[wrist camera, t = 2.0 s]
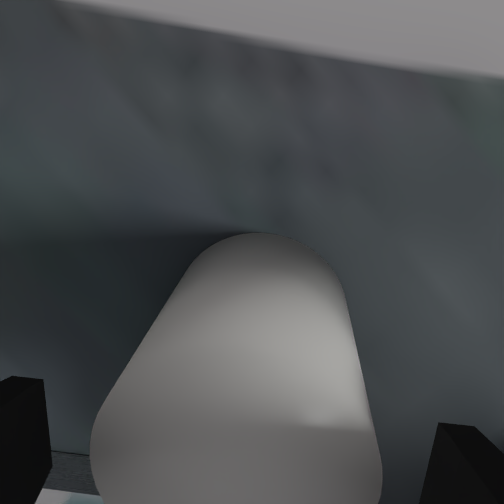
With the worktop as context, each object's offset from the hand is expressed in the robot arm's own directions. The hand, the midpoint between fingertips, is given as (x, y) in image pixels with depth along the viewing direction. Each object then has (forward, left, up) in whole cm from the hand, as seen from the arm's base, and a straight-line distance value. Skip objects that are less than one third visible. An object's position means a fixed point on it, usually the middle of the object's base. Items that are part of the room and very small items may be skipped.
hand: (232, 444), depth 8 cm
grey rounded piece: (0, 0, -5) cm, 5 cm away
